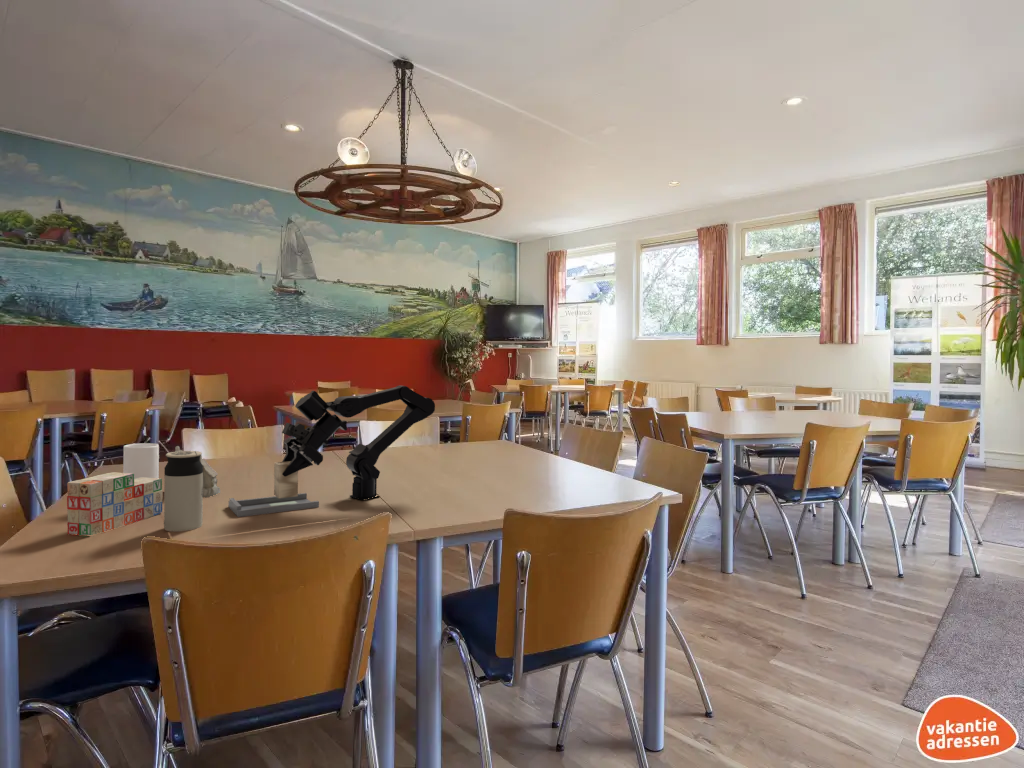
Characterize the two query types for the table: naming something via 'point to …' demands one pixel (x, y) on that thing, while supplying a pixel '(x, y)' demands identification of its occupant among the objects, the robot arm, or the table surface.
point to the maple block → (284, 481)
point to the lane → (270, 505)
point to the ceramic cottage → (207, 478)
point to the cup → (141, 460)
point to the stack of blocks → (111, 502)
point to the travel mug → (183, 491)
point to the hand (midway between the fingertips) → (280, 473)
